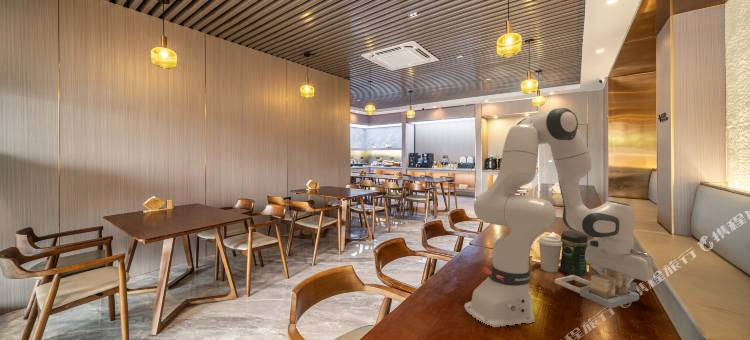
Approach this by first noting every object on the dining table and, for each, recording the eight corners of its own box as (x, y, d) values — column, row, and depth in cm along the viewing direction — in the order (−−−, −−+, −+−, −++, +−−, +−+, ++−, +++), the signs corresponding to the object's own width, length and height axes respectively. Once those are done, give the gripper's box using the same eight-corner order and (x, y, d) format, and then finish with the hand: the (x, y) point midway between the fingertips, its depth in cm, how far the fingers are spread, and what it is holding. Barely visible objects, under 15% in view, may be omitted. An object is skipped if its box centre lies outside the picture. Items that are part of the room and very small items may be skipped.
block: (627, 293, 105) (628, 272, 105) (619, 296, 103) (620, 274, 103) (612, 288, 110) (612, 267, 110) (603, 290, 108) (604, 269, 108)
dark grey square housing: (624, 296, 108) (625, 286, 108) (604, 288, 115) (604, 278, 114) (636, 293, 111) (636, 283, 111) (615, 285, 117) (615, 276, 117)
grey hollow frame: (610, 311, 98) (610, 302, 98) (580, 297, 107) (580, 289, 107) (638, 302, 104) (639, 294, 104) (607, 290, 113) (607, 282, 113)
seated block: (605, 303, 101) (606, 281, 100) (590, 297, 105) (591, 275, 105) (614, 301, 103) (615, 278, 102) (599, 295, 107) (600, 273, 107)
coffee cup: (566, 275, 127) (567, 241, 127) (544, 275, 128) (545, 241, 127) (553, 267, 137) (554, 235, 136) (533, 267, 137) (534, 235, 137)
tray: (579, 296, 109) (580, 289, 108) (554, 285, 118) (554, 278, 118) (598, 291, 113) (599, 284, 113) (572, 280, 122) (573, 274, 122)
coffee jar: (590, 277, 126) (592, 234, 125) (576, 279, 124) (578, 235, 123) (569, 268, 135) (571, 229, 134) (556, 270, 133) (557, 230, 132)
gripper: (658, 253, 98) (656, 294, 98) (593, 237, 117) (592, 272, 117) (647, 256, 95) (645, 297, 96) (582, 239, 114) (581, 274, 115)
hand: (615, 283), depth 107 cm, fingers closed on block, 5 cm apart
